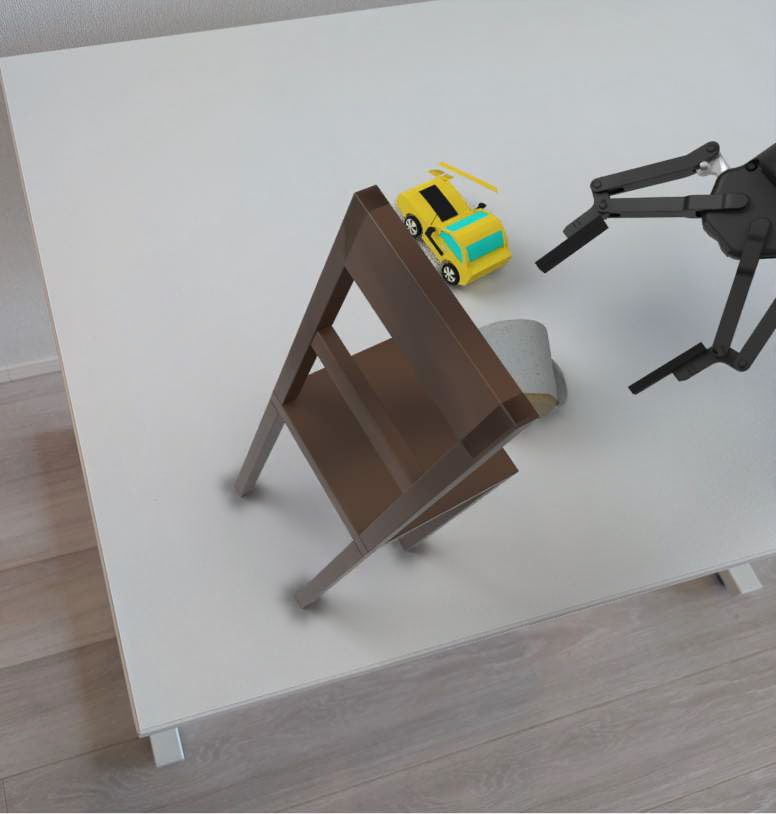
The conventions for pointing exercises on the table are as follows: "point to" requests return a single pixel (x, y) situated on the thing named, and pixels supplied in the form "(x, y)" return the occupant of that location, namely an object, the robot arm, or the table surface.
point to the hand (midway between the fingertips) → (583, 328)
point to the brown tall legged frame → (391, 397)
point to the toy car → (455, 228)
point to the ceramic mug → (529, 361)
